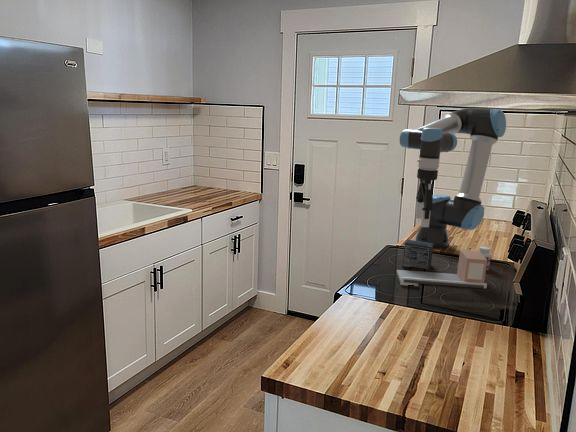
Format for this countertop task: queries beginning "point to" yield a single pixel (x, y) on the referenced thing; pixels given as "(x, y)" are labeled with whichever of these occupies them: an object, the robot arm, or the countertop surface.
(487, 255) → the pill bottle
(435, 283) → the shelf
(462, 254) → the faced carton
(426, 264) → the small box
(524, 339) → the countertop surface
